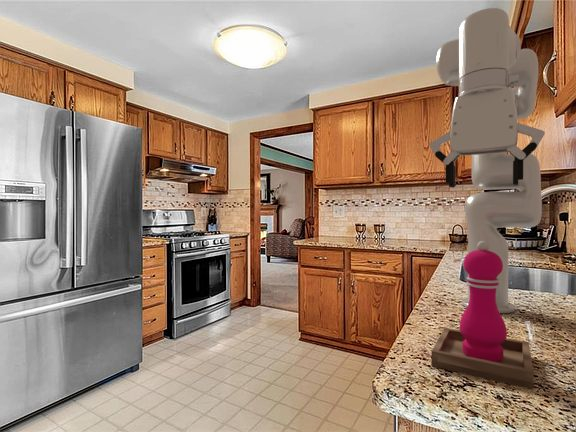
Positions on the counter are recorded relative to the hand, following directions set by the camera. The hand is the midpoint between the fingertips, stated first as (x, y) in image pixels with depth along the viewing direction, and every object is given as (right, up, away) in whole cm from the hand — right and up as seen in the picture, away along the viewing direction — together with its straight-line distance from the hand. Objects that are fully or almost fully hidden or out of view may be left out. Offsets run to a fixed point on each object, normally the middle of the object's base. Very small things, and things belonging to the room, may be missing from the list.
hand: (482, 185), depth 59 cm
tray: (0, -31, 0) cm, 31 cm away
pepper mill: (0, -30, 0) cm, 30 cm away
